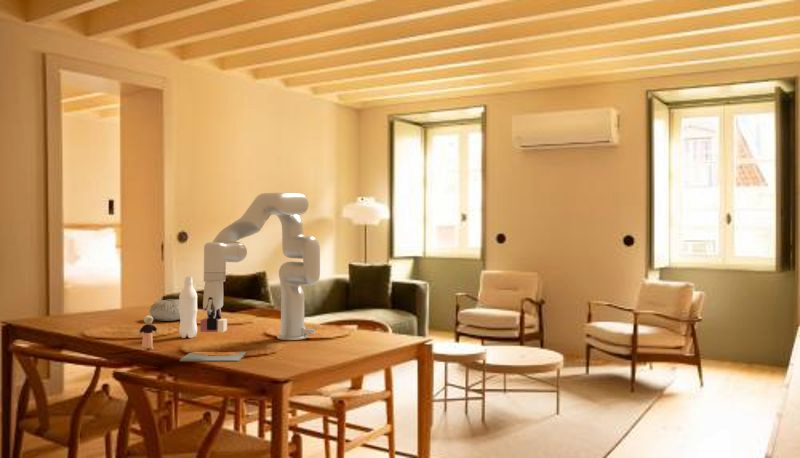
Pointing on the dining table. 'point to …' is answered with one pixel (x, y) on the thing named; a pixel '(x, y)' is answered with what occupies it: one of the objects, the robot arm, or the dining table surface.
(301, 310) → the robot arm
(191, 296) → the water bottle
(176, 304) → the grey rounded rock
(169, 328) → the dining table surface
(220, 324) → the card deck
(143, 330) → the grandmother figurine
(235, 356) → the mat
